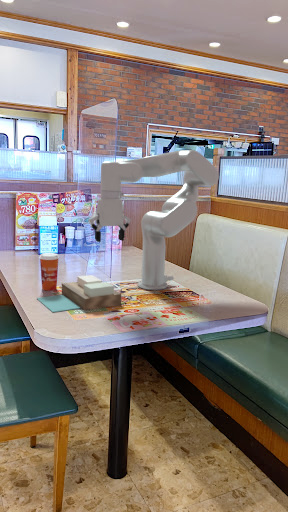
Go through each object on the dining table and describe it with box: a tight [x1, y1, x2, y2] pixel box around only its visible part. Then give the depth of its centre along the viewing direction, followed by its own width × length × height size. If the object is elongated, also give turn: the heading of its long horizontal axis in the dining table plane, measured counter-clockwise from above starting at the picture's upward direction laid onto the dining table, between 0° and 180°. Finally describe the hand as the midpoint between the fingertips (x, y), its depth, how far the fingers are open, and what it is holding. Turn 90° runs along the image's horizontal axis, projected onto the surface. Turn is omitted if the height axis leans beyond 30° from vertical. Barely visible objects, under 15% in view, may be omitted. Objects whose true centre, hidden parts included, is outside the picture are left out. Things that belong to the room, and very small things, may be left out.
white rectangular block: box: [76, 274, 103, 288], centre depth 152 cm, size 6×9×3 cm, turn 32°
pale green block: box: [84, 281, 115, 297], centre depth 143 cm, size 6×9×3 cm, turn 122°
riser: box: [61, 281, 122, 311], centre depth 150 cm, size 14×22×4 cm, turn 32°
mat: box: [36, 294, 82, 313], centre depth 143 cm, size 10×17×1 cm, turn 32°
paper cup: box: [38, 252, 60, 292], centre depth 160 cm, size 8×8×14 cm
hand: (109, 240), depth 154 cm, fingers open, 9 cm apart
